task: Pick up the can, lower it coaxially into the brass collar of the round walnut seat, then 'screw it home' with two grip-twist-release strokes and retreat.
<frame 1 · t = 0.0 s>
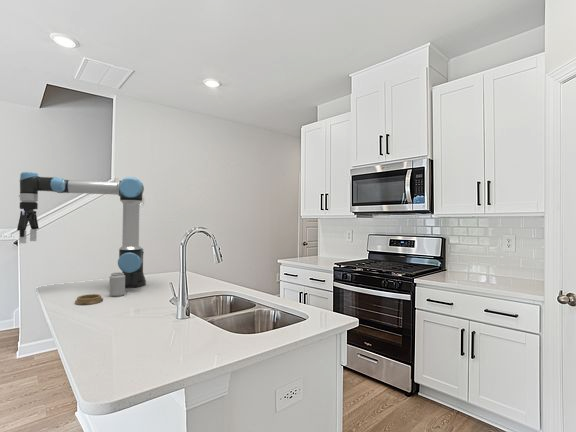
hand: (28, 242, 177), 28 cm above the counter, fingers open, 13 cm apart
seat: (89, 301, 166), on the counter
can: (117, 295, 180), on the counter
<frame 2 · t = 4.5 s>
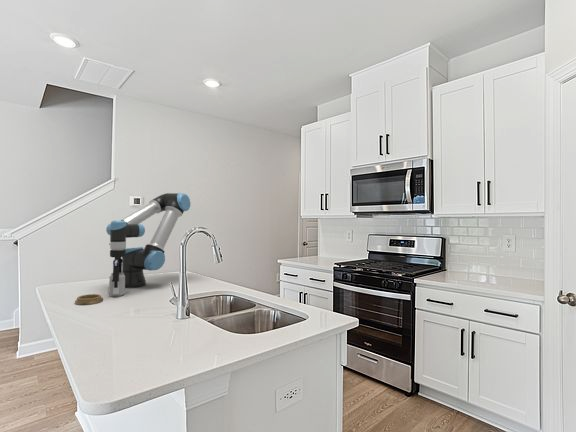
hand: (117, 291, 180), 2 cm above the counter, fingers closed on can, 7 cm apart
can: (117, 295, 180), on the counter, touching gripper
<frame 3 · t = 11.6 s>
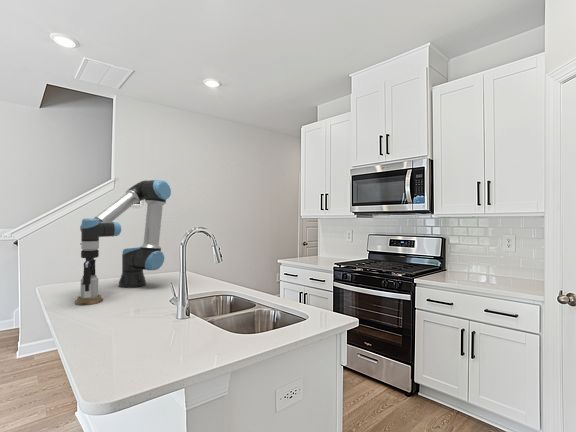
hand: (89, 295, 166), 3 cm above the counter, fingers closed on can, 8 cm apart
can: (89, 300, 166), point 1 cm above the counter, touching gripper, seat
when the fingers open (4 cm above the counter, at t = 15.8 s): can drops 1 cm, resting on seat.
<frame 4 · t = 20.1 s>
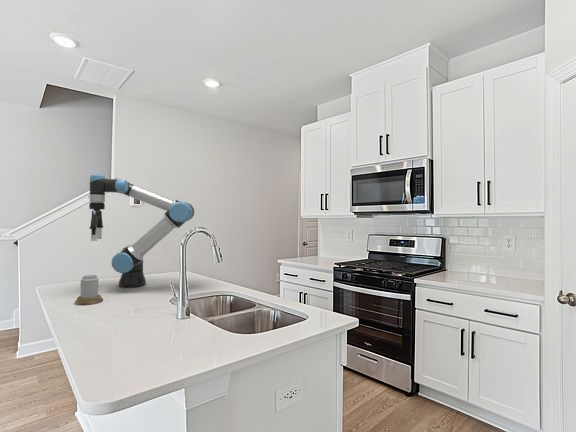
hand: (96, 239, 190), 29 cm above the counter, fingers open, 13 cm apart
can: (89, 300, 166), point 1 cm above the counter, touching seat
at the end: can 0.1 cm from the seat (horizontally); can point 0.8 cm above the counter; can tilted 0° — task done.
